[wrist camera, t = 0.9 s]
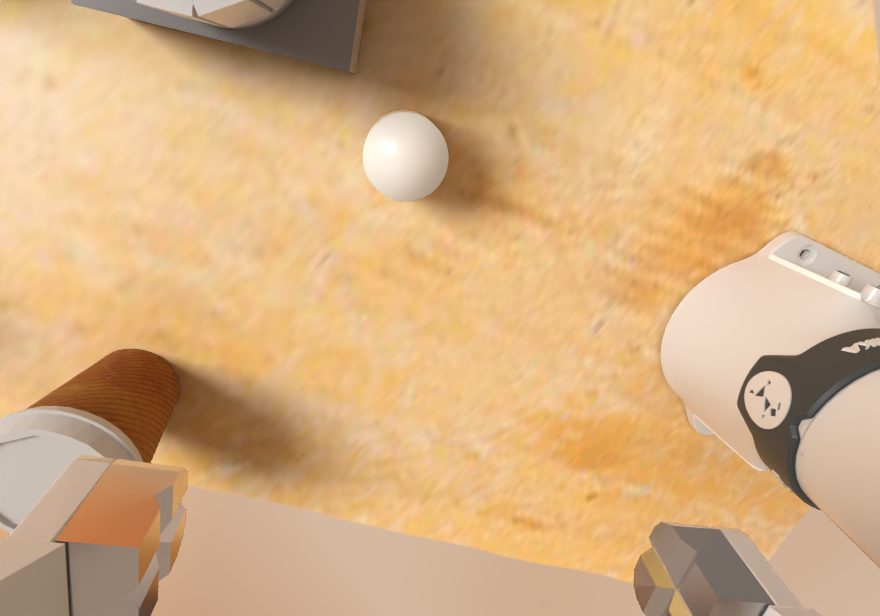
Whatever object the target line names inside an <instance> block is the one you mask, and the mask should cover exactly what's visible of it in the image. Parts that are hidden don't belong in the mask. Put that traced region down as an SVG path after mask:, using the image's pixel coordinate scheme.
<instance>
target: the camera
mask: <svg viewBox="0 0 880 616" xmlns="http://www.w3.org/2000/svg"><path fill="white" fill-rule="evenodd" d="M72 4H75V5H79V6H83V7H87V8H91V9H95V10H99V11H104V12H108V13H112V14H116V15H120V16H124V17H128V18H132V19H136V20H140V21H144V22H148V23H152V24H156V25H160V26H164V27H168V28H172V29H177V30H181V31H185V32H189V33H193V34H197V35H201V36H205V37H209V38H213V39H217V40H221V41H225V42H229V43H234V44H238V45H242V46H246V47H250V48H254V49H258V50H262V51H266V52H270V53H274V54H278V55H282V56H286V57H291V58H295V59H299V60H303V61H307V62H311V63H315V64H319V65H323V66H327V67H331V68H335V69H339V70H343V71H348V72H352V73H356V69H357V62H358V56H359V49H360V43H361V36H362V30H363V23H364V17H365V10H366V4H367V0H72Z"/></svg>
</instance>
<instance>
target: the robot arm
mask: <svg viewBox="0 0 880 616" xmlns="http://www.w3.org/2000/svg"><path fill="white" fill-rule="evenodd" d="M803 250H804V251H803ZM802 251H803V254H802V255H801V256H800V253H801V252H802ZM661 365H662V370H663V373H664V376H665V379H666V381H667V383H668V384H669V386H670V388H671V389H672V390H673V391H674V392H675V394H676V395H677V396H678V397H679V398H680V399H681V400H682V401H683V403H684V405H685V407H686V412H687V417H688V421H689V423H690V425H691V427H692V428H693V429H695V430H696V431H697V432H698V433H700V434H702V435H716V436H717V437H719V438H720V439H721V440H722V441H723V442H724V443H725V444H726V445H727V446H729V447H730V448H731V449H732V450H733V451H734V452H735V453H737V454H738V455H739V456H740V457H741V458H742V459H743V460H744V461H746V462H747V463H748V464H749V465H750V466H751V467H753V468H754V469H756V470H759V471H764V470H767V471H772V473H773V474H774V475H775V476H776V478H777V479H778V480H779V481H780V482H781V483H782V484H783V485H784V486H785V487H786V488H788V489H789V490H790V491H791V492H793V493H794V494H795V495H797V496H798V497H799V498H800V499H801V500H803V501H804V502H805V503H807V504H808V505H810V506H812V507H814V508H816V509H818V510H822V511H823V512H824V513H825V514H826V515H827V516H828V517H829V518H830V519H831V520H832V521H833V522H834V523H835V524H836V525H837V526H838V527H839V528H840V529H841V530H842V531H843V532H844V533H845V534H846V535H847V536H848V537H849V538H850V539H851V540H852V541H853V542H854V543H855V544H856V545H857V546H858V547H859V548H860V549H861V550H862V551H863V552H864V553H865V554H866V555H867V556H868V557H869V558H870V559H871V560H872V561H873V562H874V563H875V564H876V565H877V566H878V567H879V568H880V273H878V272H876V271H874V270H872V269H870V268H868V267H866V266H864V265H862V264H860V263H858V262H856V261H854V260H852V259H850V258H848V257H846V256H844V255H842V254H840V253H838V252H836V251H834V250H832V249H830V248H828V247H826V246H824V245H822V244H820V243H818V242H816V241H814V240H812V239H810V238H808V237H806V236H804V235H802V234H800V233H798V232H795V231H789V232H785V233H783V234H781V235H779V236H778V237H776V238H775V239H774V240H772V241H771V242H770V243H768V244H767V245H766V246H765V247H763V248H762V249H761V250H760V251H759V252H758V253H756V254H754V255H753V256H751V257H748V258H746V259H743V260H741V261H738V262H735V263H733V264H730V265H728V266H726V267H724V268H722V269H720V270H718V271H716V272H714V273H713V274H711V275H710V276H708V277H707V278H705V279H704V280H703V281H701V282H700V283H699V284H698V285H697V286H695V287H694V288H693V289H692V290H691V291H690V292H689V293H688V294H687V295H686V296H685V298H684V299H683V300H682V301H681V303H680V304H679V305H678V307H677V308H676V310H675V311H674V313H673V315H672V316H671V318H670V320H669V322H668V325H667V327H666V330H665V333H664V336H663V340H662V346H661ZM187 484H188V471H187V470H186V469H185V468H182V467H175V466H168V465H160V464H153V463H146V462H138V461H131V460H124V459H111V458H104V457H97V456H89V455H81V456H80V457H78V458H76V459H74V460H73V461H72V462H71V463H70V464H69V465H68V467H67V468H66V469H65V470H64V471H63V473H62V474H61V475H60V476H59V477H58V479H57V480H56V481H55V482H54V483H53V484H52V486H51V487H50V488H49V489H48V490H47V492H46V493H45V494H44V495H43V496H42V498H41V499H40V500H39V501H38V502H37V504H36V505H35V506H34V507H33V508H32V510H31V511H30V512H29V513H28V514H27V515H26V517H25V518H24V519H23V520H22V521H21V523H20V524H19V525H18V526H17V527H16V529H15V530H14V531H13V532H12V533H11V535H10V536H9V537H8V538H0V616H151V614H152V611H153V609H154V607H155V605H156V603H157V600H158V582H159V581H160V580H161V579H162V578H164V577H165V576H167V575H168V574H169V573H170V571H171V569H172V566H173V564H174V562H175V559H176V557H177V554H178V551H179V548H180V545H181V541H182V538H183V533H184V527H185V521H186V509H185V508H184V506H183V505H182V504H181V503H180V502H181V500H182V498H183V496H184V494H185V492H186V490H187ZM649 538H650V541H651V544H652V548H651V549H649V550H648V551H646V552H645V553H643V554H642V555H640V557H639V560H638V562H637V564H636V567H635V569H634V589H635V593H636V598H637V600H638V602H639V605H640V607H641V609H642V611H643V613H644V614H645V615H647V616H821V615H820V614H819V613H817V612H816V611H814V610H813V609H806V608H804V607H803V606H802V604H801V603H800V602H799V601H798V599H797V598H796V597H795V595H794V594H793V593H792V592H791V590H790V589H789V588H788V587H787V585H786V584H785V583H784V581H783V580H782V579H781V578H780V576H779V575H778V574H777V573H776V571H775V570H774V569H773V567H772V566H771V565H770V564H769V562H768V561H767V560H766V559H765V557H764V556H763V555H762V553H761V552H760V551H759V550H758V548H757V547H756V546H755V545H754V543H753V542H752V541H751V539H750V538H749V537H748V536H747V535H746V534H745V533H743V532H742V531H740V530H739V529H732V528H722V527H707V526H698V525H688V524H679V523H669V522H661V523H659V524H658V525H657V526H655V527H654V529H653V531H652V533H651V535H650V537H649Z"/></svg>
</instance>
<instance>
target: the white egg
mask: <svg viewBox="0 0 880 616" xmlns="http://www.w3.org/2000/svg"><path fill="white" fill-rule="evenodd" d="M448 161H449V155H448V148H447V144H446V141H445V139H444V137H443V135H442V133H441V132H440V131H439V129H438V128H437V127H436V126H435V125H434V124H433V123H432V122H431V121H430V120H429V119H428V118H426V117H425V116H424V115H422V114H420V113H418V112H416V111H413V110H407V109H399V110H394V111H391V112H388V113H386V114H384V115H383V116H381V117H380V118H379V119H378V120H377V121H376V122H375V123H374V125H373V126H372V128H371V129H370V131H369V134H368V136H367V139H366V141H365V144H364V149H363V165H364V169H365V172H366V175H367V177H368V179H369V180H370V182H371V183H372V185H373V186H374V187H375V188H376V189H377V190H378V191H379V192H380V193H382V194H383V195H385V196H386V197H389V198H391V199H394V200H397V201H415V200H419V199H422V198H424V197H426V196H428V195H429V194H431V193H432V192H433V191H434V190H435V189H436V188H437V187H438V186H439V185H440V184H441V182H442V180H443V179H444V177H445V174H446V171H447V168H448Z"/></svg>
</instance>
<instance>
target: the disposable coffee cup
mask: <svg viewBox="0 0 880 616" xmlns="http://www.w3.org/2000/svg"><path fill="white" fill-rule="evenodd" d="M179 388H180V387H179V382H178V378H177V376H176V374H175V372H174V371H173V369H172V368H171V367H170V366H169V365H168V364H167V363H166V362H165V361H164V360H163V359H161V358H160V357H158V356H156V355H154V354H152V353H150V352H147V351H144V350H138V349H123V350H118V351H115V352H112V353H110V354H109V355H107V356H106V357H104V358H103V359H101V360H100V361H98V362H97V363H95V364H94V365H92V366H91V367H89V368H88V369H86V370H85V371H83V372H82V373H80V374H78V375H77V376H75V377H74V378H72V379H71V380H70V381H68V382H67V383H65V384H64V385H62V386H60V387H59V388H57V389H56V390H54V391H53V392H51V393H50V394H48V395H47V396H45V397H43V398H42V399H41V400H39V401H38V402H36V403H35V404H33V405H32V406H30V407H29V408H27V409H25V410H23V411H18V412H15V413H12V414H9V415H6V416H4V417H3V418H1V419H0V528H1V529H3V530H4V531H6V532H8V533H10V534H11V533H12V532H13V531H14V530H15V529H16V527H17V526H18V525H19V524H20V523H21V521H22V520H23V519H24V518H25V517H26V515H27V514H28V513H29V512H30V511H31V510H32V508H33V507H34V506H35V505H36V504H37V502H38V501H39V500H40V499H41V498H42V496H43V495H44V494H45V493H46V492H47V490H48V489H49V488H50V487H51V486H52V484H53V483H54V482H55V481H56V480H57V479H58V477H59V476H60V475H61V474H62V473H63V471H64V470H65V469H66V468H67V467H68V465H69V464H70V463H71V462H72V461H73V460H74V459H76V458H78V457H80V456H81V455H89V456H97V457H104V458H111V459H124V460H131V461H138V462H146V463H150V462H151V460H152V458H153V455H154V453H155V451H156V448H157V446H158V443H159V442H160V439H161V437H162V434H163V431H164V430H165V426H166V425H167V422H168V420H169V417H170V415H171V412H172V410H173V408H174V406H175V403H176V401H177V399H178V396H179Z"/></svg>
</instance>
